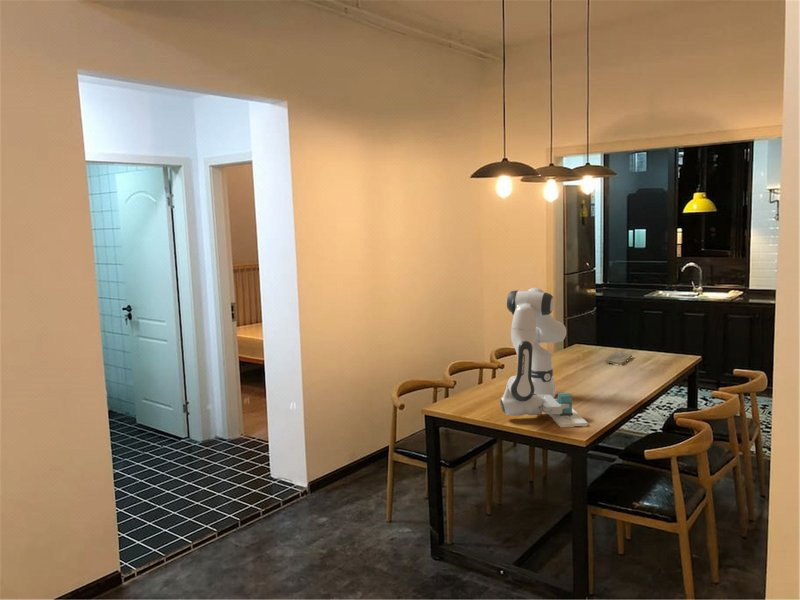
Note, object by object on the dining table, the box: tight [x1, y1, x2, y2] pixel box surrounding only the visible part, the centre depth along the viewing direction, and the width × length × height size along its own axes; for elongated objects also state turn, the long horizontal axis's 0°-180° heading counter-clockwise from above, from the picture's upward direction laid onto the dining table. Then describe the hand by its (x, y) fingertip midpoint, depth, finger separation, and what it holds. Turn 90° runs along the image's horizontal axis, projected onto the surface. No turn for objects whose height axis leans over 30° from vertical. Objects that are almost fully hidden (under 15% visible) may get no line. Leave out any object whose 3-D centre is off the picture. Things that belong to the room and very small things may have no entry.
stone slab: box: [604, 351, 633, 366], centre depth 405 cm, size 12×4×30 cm
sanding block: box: [557, 392, 573, 416], centre depth 290 cm, size 5×5×9 cm
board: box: [548, 407, 589, 428], centre depth 288 cm, size 24×12×2 cm, turn 1°
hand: (566, 403), depth 290 cm, fingers closed on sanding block, 5 cm apart
